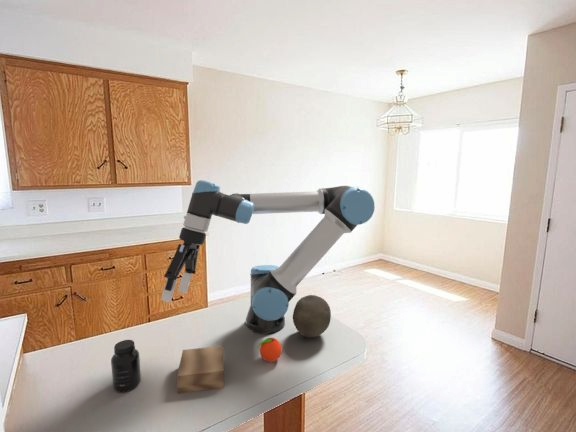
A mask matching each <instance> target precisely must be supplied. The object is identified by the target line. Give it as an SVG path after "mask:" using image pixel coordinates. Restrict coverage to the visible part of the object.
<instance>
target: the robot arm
mask: <svg viewBox="0 0 576 432" xmlns="http://www.w3.org/2000/svg"><path fill="white" fill-rule="evenodd" d="M220 189H221V186H220V185H218V184H217V183H213V182H210V181H207V180H201V179H200V180H198V181H197V182H195V186H194V189H193V191H192V193H191V197H190V200H189V204H188V207H187V211H186V215H184V216H183V219H184V221H183V227H182V228H181V230H180V233H179V240H181V241H183V243H182V244H180V243H178V245H177V249H176V251H175V253H174V255H173V257H172V260H171V261H170V264H169V265H168V268H167V270H166V272H165V273H164V277H163V278H166V281H165V284H164V288H163V290H162V295H161V298H160V301H163V302H167V303H169V304H170V303H171V302H172V298H173V296H174V292H175V289H176V285H177V283H178V277H179V275H180V273H181V271H182V269H183V267H185V268H184V271H183V273H182V276H181V279H180V283H179V286H178V290H177V292H178V293H183V294H187V292H188V289H189V286H190V283H191V282H190V281H191V279H192V276H193V275H195V274H196V270H197V262H198V261H197V260H198V255H199V250H200V247H201V245H204V244H205V241H206V240H205V239H206V237H207V234H206V232H208V230H209V228H210V227H209V226H210V223H211V220H212V216H215V217H219V218H223V219H226V220H229V221H233V222H236V223H238V224H239V223H240V224H244V225H247V224H249V223H250V221H251V218H252V215H263V214H264V215H265V214H287V213H288V214H289V213H311V212H317V213H318V214H320V215H324V217H323V218H322V219H321V220H320V221H319V222H318V223H317V224H316V226H315V227H313V229H312V230H311V231H310V232H309V234H307V236H306V237H305V238H304V239H303V240H302V241H301V242H300V244H299V245H298V246H297V247H296V248H295V249H294V250H293V251H292V253H290V255H289V256H288V257H287V258H286V259H285V261H283V263H281V265H280V266H278V265H272V264H262V265H261V264H260V265H255V266H252V267H251V269H250V273H249V274H250V306H249V309H248V312H247V314H246V317H245V326H246V328H247V329H248V330H250V331H251V332H254V333H258V334H271V333H276V332H279V331H280V330H282V329H283V328H284V326H285V325H286V318H285V315H286V313H287V312H288V309H289V305H290V301H291V300H292V299H293V298H294V297H295V296H296V295H297V294H298V292H297V287H298V285H299V284H300V283H301V282H302V281H303V280H304V279H305V277H306V276H307V275H308V274H309V273H310V272H311V271H312V270H313V269H314V267H315V266H316V265H317V264H318V263H319V262H320V261H321V260H322V258H324V257H325V255H326V254H327V253H328V252H329V251H330V250H331V248H332V247H333V246H334V245H335V244H336V242H338V240H339V239H340V238H341V237H342V236H343V235H344V234H350V233H352V232H353V230H355V228H356V227H358V225H363V224H366V223H367V222H368V221H369V220H370V219H371V218H372V217H373V215H374V212H375V200H374V197H373V196H372V194H371V193H370V192H369V191H368V190H366V189H365V188H362V187H359V186H350V185H339V186H334V187H333V186H332V187H323V188H319V189H318V190H316V191H292V192H290V191H289V192H287V191H286V192H266V193H265V192H264V193H258V192H257V193H232V194H227V193H224V192H220V191H221V190H220Z"/></svg>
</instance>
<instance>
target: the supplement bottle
mask: <svg viewBox="0 0 576 432" xmlns="http://www.w3.org/2000/svg"><path fill="white" fill-rule="evenodd" d="M113 349H114V351H113V352H114V354H113V355H112V357H111V360H110V365H111V379H112V387H113V390H114V392H117V393H126V392H131V391H132V390H134V389H135V388H137V387H138V386H139V385H140V383H141V382H142V372H141V371H142V370H141V359H140V352H139V350H138V349H136V346H135V341H134V340H133V339H123V340H120V341H119V342H117V343H115V345H114V347H113Z"/></svg>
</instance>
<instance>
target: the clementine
mask: <svg viewBox="0 0 576 432" xmlns="http://www.w3.org/2000/svg"><path fill="white" fill-rule="evenodd" d="M257 348H259V354H260V357H261V358H262V359H264V361H266V362H270V363H271V362H275V361H277V360H278V359H279V358H280V357H281V354H282V352H283V350H282V344H281V343H280V341H279V340H278V339H277V338H275V337H267V338H265V339H264V340H261V342H260V343H259V344H258V346H257Z"/></svg>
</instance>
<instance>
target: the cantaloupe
mask: <svg viewBox="0 0 576 432" xmlns="http://www.w3.org/2000/svg"><path fill="white" fill-rule="evenodd" d="M331 319H332V313H331V308H330V305H329V303H328V302H327V301H326V299H324V298H323V297H321V296H318V295H314V294H309V295H305V296H302V297H301V298H300V299H299V300H297V302H296V304H295V306H294V309H293V312H292V322H293V325H294V327H295V329H296V330H297V332H298V333H299V334H300V335H302V336H304V337H305V338H316V337H318V336H320V335H322V334H324V332H325V331H327V329H328V328H329V326H330V323H331Z"/></svg>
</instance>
